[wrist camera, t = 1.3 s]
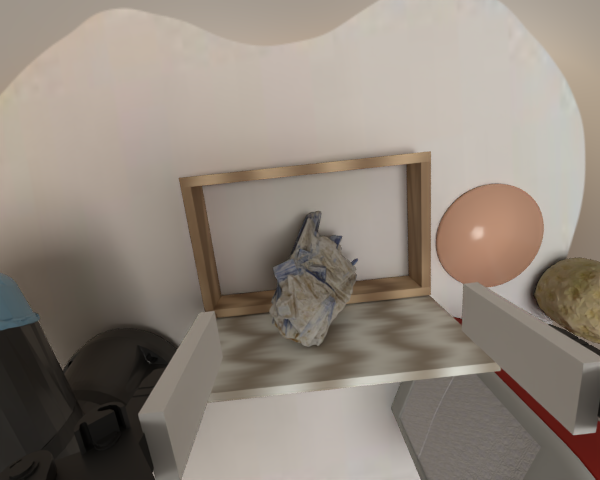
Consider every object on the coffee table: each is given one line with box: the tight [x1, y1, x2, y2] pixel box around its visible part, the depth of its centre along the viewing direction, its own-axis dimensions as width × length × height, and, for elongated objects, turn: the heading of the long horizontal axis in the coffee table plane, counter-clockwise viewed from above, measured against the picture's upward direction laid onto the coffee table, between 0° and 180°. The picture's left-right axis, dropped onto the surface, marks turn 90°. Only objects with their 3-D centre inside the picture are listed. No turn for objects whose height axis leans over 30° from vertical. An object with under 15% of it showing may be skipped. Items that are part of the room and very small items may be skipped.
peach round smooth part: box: [436, 184, 544, 287], centre depth 37 cm, size 13×13×1 cm
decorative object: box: [533, 258, 600, 344], centre depth 36 cm, size 9×10×10 cm
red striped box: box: [391, 317, 600, 480], centre depth 29 cm, size 16×18×27 cm
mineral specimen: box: [269, 211, 358, 347], centre depth 31 cm, size 15×8×4 cm
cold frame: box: [179, 151, 501, 403], centre depth 29 cm, size 26×17×16 cm, turn 96°
